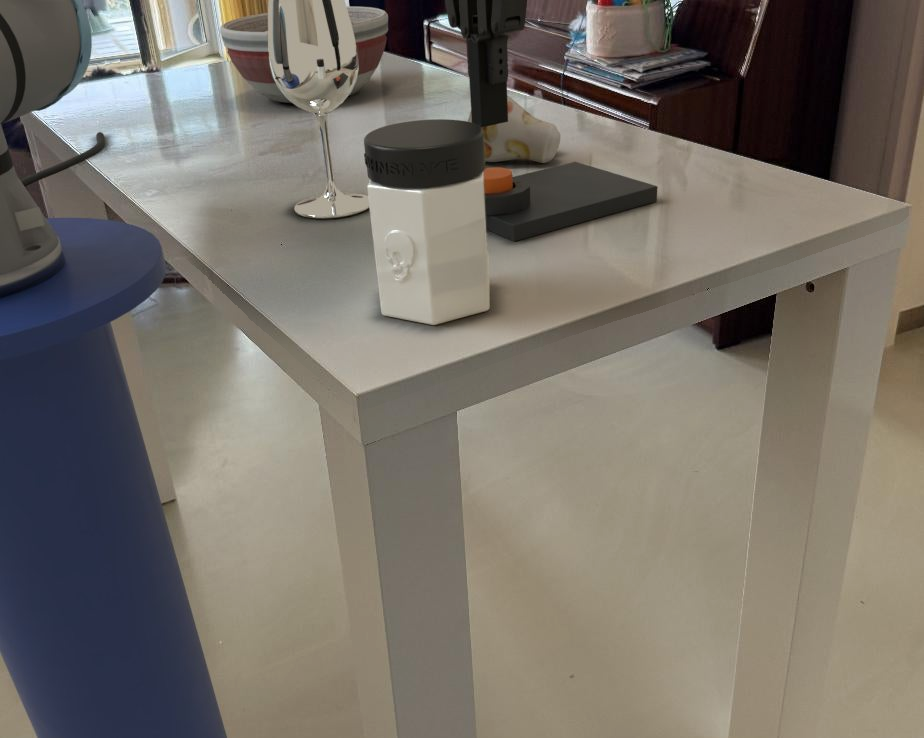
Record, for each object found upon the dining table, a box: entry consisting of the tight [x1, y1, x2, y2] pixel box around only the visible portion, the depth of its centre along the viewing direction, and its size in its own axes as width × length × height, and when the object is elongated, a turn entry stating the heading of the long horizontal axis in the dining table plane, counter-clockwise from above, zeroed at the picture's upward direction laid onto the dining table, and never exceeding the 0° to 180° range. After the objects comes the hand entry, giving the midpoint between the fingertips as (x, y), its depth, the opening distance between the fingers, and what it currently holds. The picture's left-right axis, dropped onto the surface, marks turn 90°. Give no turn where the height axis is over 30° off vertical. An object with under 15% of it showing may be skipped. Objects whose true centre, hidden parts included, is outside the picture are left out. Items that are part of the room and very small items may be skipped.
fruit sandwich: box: [467, 95, 561, 164], centre depth 102 cm, size 8×10×10 cm
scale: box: [486, 161, 659, 242], centre depth 89 cm, size 12×17×3 cm
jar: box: [363, 118, 491, 326], centre depth 69 cm, size 9×8×12 cm
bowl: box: [219, 5, 389, 104], centre depth 136 cm, size 23×23×10 cm
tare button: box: [484, 167, 513, 194], centre depth 85 cm, size 4×4×2 cm
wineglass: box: [267, 0, 370, 220], centre depth 88 cm, size 8×8×20 cm
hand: (490, 122), depth 83 cm, fingers closed
